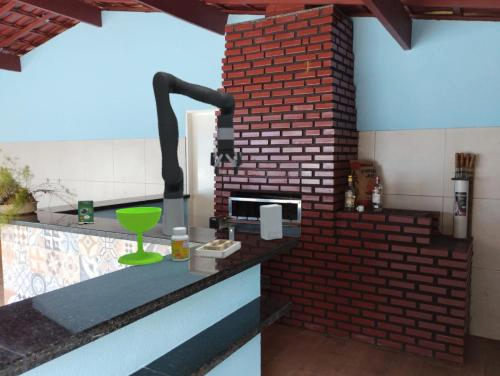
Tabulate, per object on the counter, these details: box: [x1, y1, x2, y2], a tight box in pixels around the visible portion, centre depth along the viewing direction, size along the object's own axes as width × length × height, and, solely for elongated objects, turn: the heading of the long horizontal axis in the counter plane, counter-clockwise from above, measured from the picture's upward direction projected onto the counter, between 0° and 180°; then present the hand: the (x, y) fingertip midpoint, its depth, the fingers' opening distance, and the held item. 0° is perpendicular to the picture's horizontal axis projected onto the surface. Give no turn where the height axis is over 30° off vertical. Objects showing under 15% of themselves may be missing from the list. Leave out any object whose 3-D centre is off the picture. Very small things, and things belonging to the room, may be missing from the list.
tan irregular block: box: [203, 239, 233, 251], centre depth 162 cm, size 13×8×3 cm, turn 161°
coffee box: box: [77, 200, 95, 223], centre depth 234 cm, size 8×3×13 cm, turn 119°
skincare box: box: [259, 203, 283, 241], centre depth 186 cm, size 8×6×15 cm
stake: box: [228, 226, 236, 242], centre depth 177 cm, size 2×2×7 cm
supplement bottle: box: [170, 226, 190, 262], centre depth 151 cm, size 6×6×11 cm
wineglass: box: [115, 206, 164, 266], centre depth 152 cm, size 16×16×18 cm
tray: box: [194, 239, 242, 259], centre depth 162 cm, size 12×18×2 cm, turn 161°
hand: (226, 175), depth 186 cm, fingers open, 8 cm apart
